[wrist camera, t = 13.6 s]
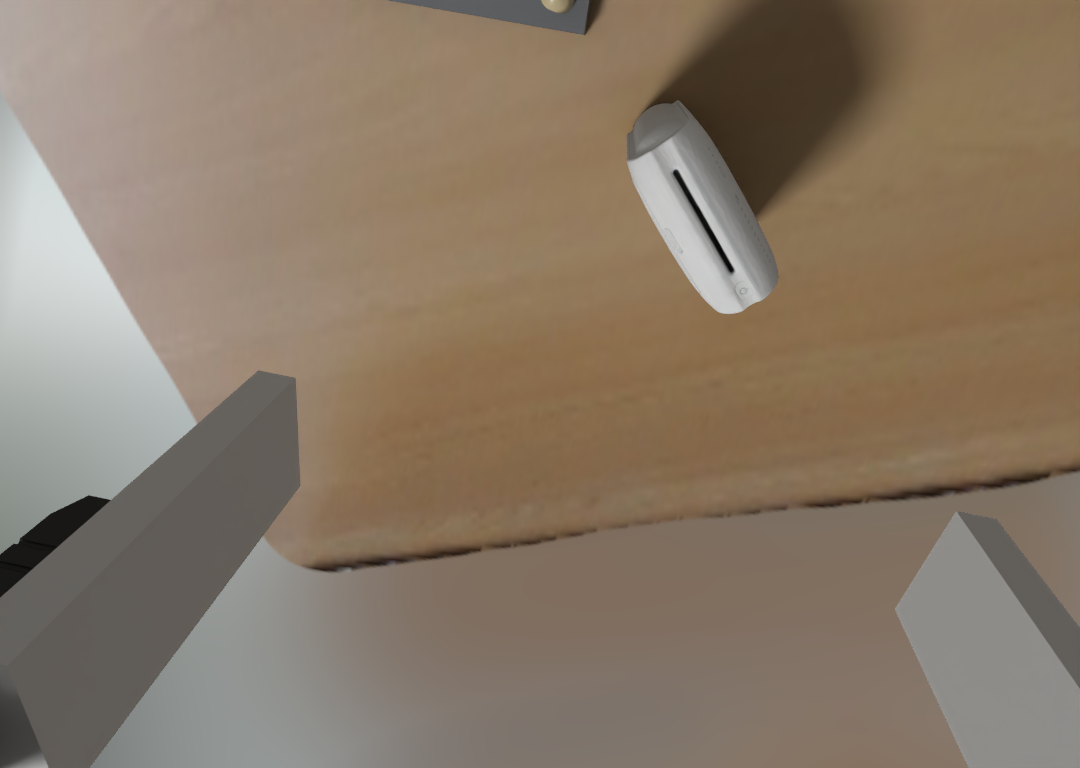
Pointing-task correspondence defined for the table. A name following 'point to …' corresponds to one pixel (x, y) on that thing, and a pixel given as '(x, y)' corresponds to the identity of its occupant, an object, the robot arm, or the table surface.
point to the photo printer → (699, 209)
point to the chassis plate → (521, 11)
